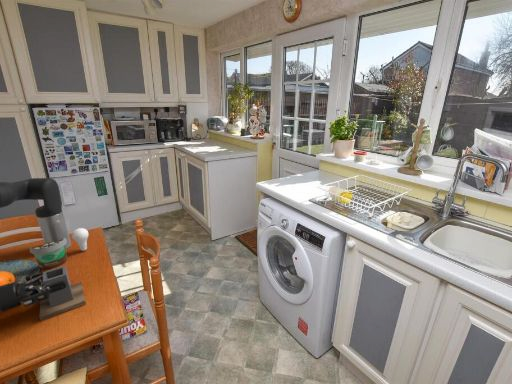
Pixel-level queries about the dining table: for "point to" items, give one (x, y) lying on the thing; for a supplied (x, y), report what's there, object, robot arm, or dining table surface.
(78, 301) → the post stand
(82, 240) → the lightbulb
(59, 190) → the robot arm
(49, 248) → the food container
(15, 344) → the dining table surface
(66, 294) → the sleeve
